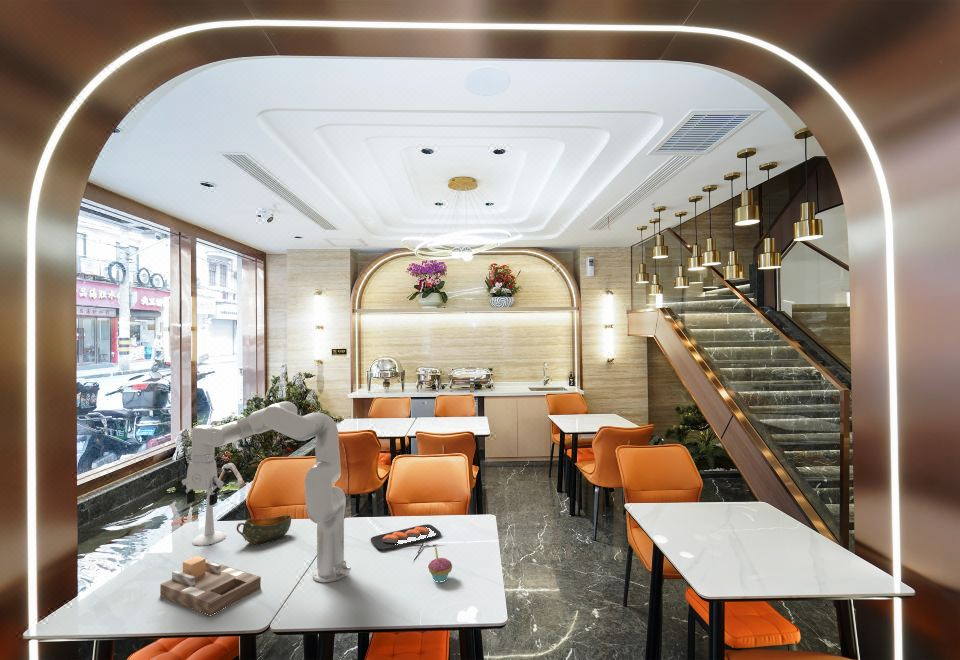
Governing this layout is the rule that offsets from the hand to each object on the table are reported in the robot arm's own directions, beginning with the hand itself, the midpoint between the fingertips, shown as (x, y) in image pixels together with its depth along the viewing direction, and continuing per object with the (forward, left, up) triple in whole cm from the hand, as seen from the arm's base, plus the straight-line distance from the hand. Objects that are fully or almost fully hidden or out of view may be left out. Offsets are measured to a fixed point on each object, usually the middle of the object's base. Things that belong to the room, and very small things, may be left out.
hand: (202, 503), depth 173 cm
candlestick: (+25, -19, -26) cm, 41 cm away
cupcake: (-85, -33, -26) cm, 95 cm away
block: (-8, +8, -21) cm, 24 cm away
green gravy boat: (+2, -29, -26) cm, 39 cm away
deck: (-18, +8, -25) cm, 32 cm away
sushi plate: (-60, -52, -26) cm, 84 cm away
